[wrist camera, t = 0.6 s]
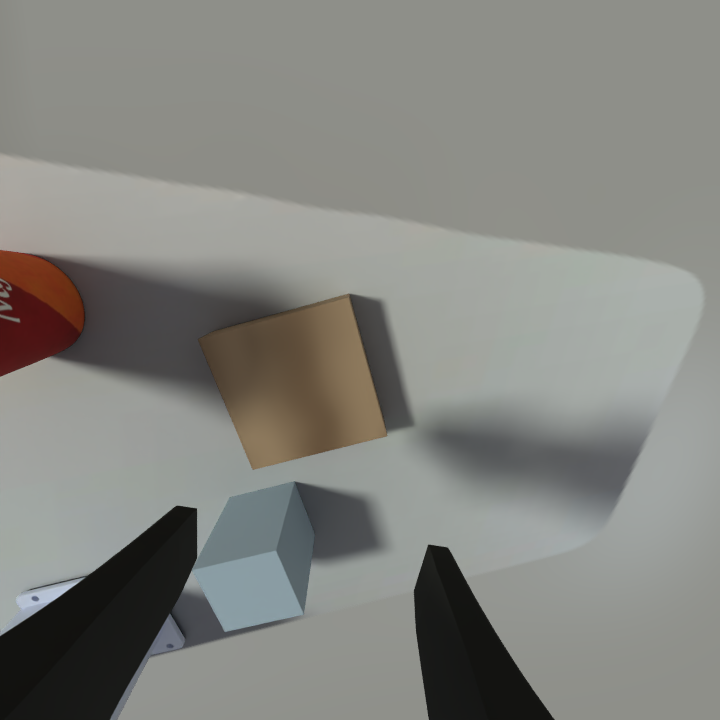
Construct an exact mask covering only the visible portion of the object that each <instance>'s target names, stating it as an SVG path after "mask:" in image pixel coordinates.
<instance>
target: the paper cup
mask: <svg viewBox="0 0 720 720" xmlns="http://www.w3.org/2000/svg"><path fill="white" fill-rule="evenodd" d="M84 321H85V312H84V306H83V302H82V299H81V296H80V294H79V292H78V290H77V288H76V287H75V285H74V284H73V282H72V281H71V280H70V279H69V278H68V276H67V275H66V274H65V273H64V272H63V271H61V270H60V269H59V268H58V267H56V266H55V265H53V264H52V263H50V262H49V261H47V260H45V259H42V258H40V257H37V256H34V255H30V254H25V253H19V252H11V251H3V250H0V376H3V375H5V374H8V373H10V372H13V371H15V370H18V369H20V368H23V367H25V366H28V365H30V364H33V363H35V362H38V361H40V360H43V359H45V358H47V357H50V356H52V355H54V354H57V353H59V352H61V351H63V350H65V349H66V348H68V347H70V346H71V345H72V344H73V343H74V342H75V341H76V340H77V339H78V338H79V336H80V334H81V332H82V330H83V326H84Z"/></svg>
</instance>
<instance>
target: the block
mask: <svg viewBox="0 0 720 720" xmlns="http://www.w3.org/2000/svg"><path fill="white" fill-rule="evenodd" d="M314 538H315V533H314V531H313V528H312V526H311V523H310V520H309V518H308V515H307V513H306V510H305V507H304V505H303V502H302V500H301V497H300V494H299V492H298V489H297V487H296V484H295V481H294V482H290V483H286V484H282V485H278V486H274V487H270V488H266V489H262V490H258V491H254V492H250V493H245V494H241V495H237V496H233V497H230V498H229V500H228V502H227V504H226V506H225V508H224V510H223V512H222V513H221V515H220V517H219V519H218V521H217V523H216V525H215V527H214V529H213V531H212V533H211V534H210V536H209V538H208V540H207V542H206V544H205V546H204V548H203V550H202V552H201V554H200V556H199V557H198V559H197V561H196V563H195V565H194V567H193V569H192V572H193V573H194V575H195V577H196V579H197V581H198V583H199V585H200V586H201V588H202V590H203V592H204V594H205V596H206V598H207V599H208V601H209V603H210V605H211V607H212V609H213V611H214V612H215V614H216V616H217V618H218V620H219V622H220V624H221V625H222V627H223V629H224V631H225V632H227V631H231V630H236V629H240V628H245V627H250V626H254V625H259V624H263V623H268V622H272V621H277V620H281V619H286V618H290V617H295V616H299V615H304V609H305V602H306V595H307V588H308V581H309V574H310V567H311V560H312V553H313V546H314Z"/></svg>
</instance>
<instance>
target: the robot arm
mask: <svg viewBox="0 0 720 720" xmlns="http://www.w3.org/2000/svg"><path fill="white" fill-rule="evenodd" d="M196 559H197V509H196V508H190V507H183V506H176V507H174V508H173V509H172V510H170V511H169V512H168V513H167V514H165V515H164V516H163V517H162V518H161V519H159V520H158V521H157V522H156V523H155V524H153V525H152V526H151V527H150V528H148V529H147V530H146V531H145V532H143V533H142V534H141V535H140V536H139V537H137V538H136V539H135V540H134V541H132V542H131V543H130V544H129V545H127V546H126V547H125V548H123V549H122V550H121V551H120V552H118V553H117V554H116V555H114V556H113V557H112V558H111V559H109V560H108V561H107V562H105V563H104V564H103V565H102V566H100V567H99V568H98V569H96V570H95V571H94V572H92V573H91V574H89V575H88V576H87V577H84V578H80V579H76V580H71V581H67V582H63V583H59V584H55V585H50V586H46V587H42V588H38V589H34V590H30V591H25V592H22V593H21V594H20V595H19V596H18V597H17V598H16V603H17V604H18V606H19V607H20V608H21V610H20V611H19V612H18V613H17V614H16V615H15V616H14V617H13V618H12V619H11V620H10V621H9V622H8V623H7V625H6V626H5V627H4V628H3V629H2V630H1V631H0V720H117V719H118V717H119V715H120V713H121V711H122V709H123V708H124V705H125V704H126V702H127V700H128V698H129V696H130V694H131V692H132V689H133V688H134V686H135V684H136V682H137V680H138V678H139V676H140V674H141V673H142V671H143V669H144V667H145V665H146V663H147V661H148V659H149V657H150V655H154V654H158V653H163V652H167V651H172V650H176V649H180V648H182V647H183V645H184V643H185V638H184V636H183V635H182V633H181V631H180V630H179V628H178V626H177V625H176V623H175V621H174V619H173V618H172V616H171V614H170V612H171V610H172V609H173V607H174V605H175V603H176V602H177V600H178V598H179V596H180V594H181V592H182V590H183V588H184V586H185V584H186V582H187V579H188V577H189V575H190V573H191V570H192V568H193V566H194V564H195V561H196ZM414 602H415V621H416V622H415V623H416V634H417V642H418V649H419V656H420V662H421V670H422V676H423V683H424V689H425V697H426V704H427V710H428V717H429V720H554V718H553V717H552V716H551V714H550V713H549V711H548V710H547V709H546V707H545V706H544V704H543V703H542V702H541V700H540V699H539V697H538V696H537V695H536V694H535V692H534V691H533V689H532V688H531V686H530V685H529V683H528V682H527V680H526V679H525V677H524V676H523V674H522V673H521V671H520V670H519V668H518V667H517V665H516V664H515V662H514V661H513V659H512V657H511V656H510V654H509V653H508V651H507V650H506V648H505V647H504V645H503V643H502V642H501V640H500V639H499V637H498V635H497V634H496V632H495V630H494V629H493V627H492V625H491V624H490V622H489V620H488V619H487V617H486V615H485V614H484V612H483V610H482V608H481V607H480V605H479V603H478V602H477V600H476V598H475V596H474V595H473V593H472V591H471V589H470V587H469V585H468V584H467V582H466V580H465V578H464V576H463V574H462V573H461V571H460V569H459V567H458V565H457V563H456V561H455V559H454V557H453V556H452V554H451V552H450V550H449V549H448V548H447V547H441V546H434V545H428V547H427V550H426V554H425V557H424V560H423V563H422V567H421V570H420V573H419V576H418V579H417V583H416V586H415V589H414Z"/></svg>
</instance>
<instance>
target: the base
mask: <svg viewBox="0 0 720 720" xmlns="http://www.w3.org/2000/svg"><path fill="white" fill-rule="evenodd" d="M198 341H199V344H200V346H201V348H202V351H203V353H204V355H205V358H206V360H207V363H208V365H209V367H210V370H211V372H212V374H213V377H214V379H215V381H216V384H217V386H218V389H219V391H220V393H221V396H222V398H223V400H224V403H225V405H226V408H227V410H228V412H229V415H230V417H231V419H232V422H233V424H234V426H235V429H236V431H237V434H238V436H239V438H240V441H241V443H242V445H243V448H244V450H245V453H246V455H247V457H248V460H249V462H250V464H251V467H252V469H253V470H254V469H258V468H262V467H266V466H270V465H274V464H278V463H282V462H286V461H290V460H294V459H298V458H302V457H306V456H310V455H314V454H318V453H322V452H326V451H330V450H334V449H338V448H342V447H346V446H350V445H354V444H358V443H362V442H366V441H370V440H373V439H377V438H381V437H385V436H387V432H386V427H385V422H384V418H383V414H382V410H381V407H380V403H379V400H378V396H377V392H376V389H375V385H374V381H373V378H372V374H371V371H370V367H369V363H368V360H367V356H366V353H365V349H364V345H363V342H362V338H361V334H360V331H359V327H358V324H357V320H356V316H355V313H354V309H353V306H352V302H351V298H350V295H349V294H346V295H342V296H339V297H335V298H332V299H328V300H324V301H321V302H317V303H314V304H310V305H306V306H303V307H299V308H296V309H292V310H288V311H285V312H281V313H278V314H274V315H270V316H267V317H263V318H260V319H256V320H252V321H249V322H245V323H242V324H238V325H234V326H231V327H227V328H224V329H220V330H216V331H213V332H211V333H209V334H207V335H205V336H203V337H201V338H199V339H198Z"/></svg>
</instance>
